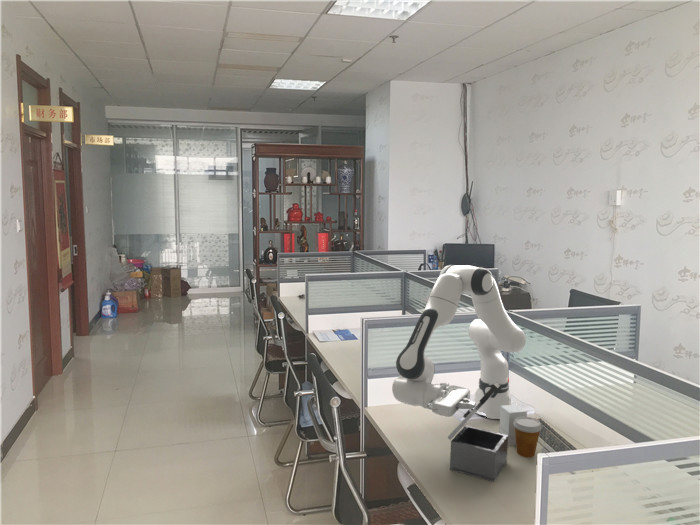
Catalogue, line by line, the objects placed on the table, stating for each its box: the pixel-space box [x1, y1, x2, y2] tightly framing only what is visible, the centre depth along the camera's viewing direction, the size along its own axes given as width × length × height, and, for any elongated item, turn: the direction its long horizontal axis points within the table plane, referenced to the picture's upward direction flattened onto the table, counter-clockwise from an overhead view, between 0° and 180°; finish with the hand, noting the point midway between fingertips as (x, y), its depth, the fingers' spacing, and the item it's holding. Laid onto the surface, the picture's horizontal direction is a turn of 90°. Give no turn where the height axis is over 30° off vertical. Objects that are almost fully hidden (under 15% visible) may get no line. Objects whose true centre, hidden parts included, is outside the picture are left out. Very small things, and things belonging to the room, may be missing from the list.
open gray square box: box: [449, 424, 509, 483], centre depth 192 cm, size 15×15×10 cm
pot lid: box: [447, 382, 500, 441], centre depth 191 cm, size 15×23×2 cm
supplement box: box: [498, 404, 528, 446], centre depth 212 cm, size 7×7×13 cm
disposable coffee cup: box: [514, 416, 543, 459], centre depth 201 cm, size 10×10×12 cm
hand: (474, 405), depth 191 cm, fingers closed, pressing on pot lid
